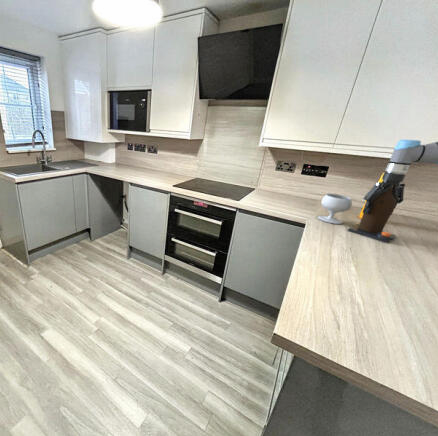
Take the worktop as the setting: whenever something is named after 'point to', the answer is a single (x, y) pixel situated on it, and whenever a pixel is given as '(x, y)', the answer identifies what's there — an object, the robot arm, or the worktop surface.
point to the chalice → (335, 206)
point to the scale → (372, 234)
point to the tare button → (386, 234)
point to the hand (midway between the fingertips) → (376, 213)
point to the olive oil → (378, 213)
